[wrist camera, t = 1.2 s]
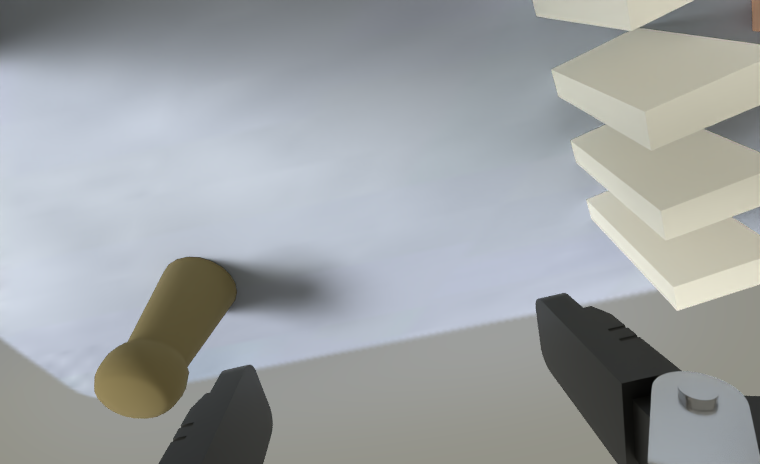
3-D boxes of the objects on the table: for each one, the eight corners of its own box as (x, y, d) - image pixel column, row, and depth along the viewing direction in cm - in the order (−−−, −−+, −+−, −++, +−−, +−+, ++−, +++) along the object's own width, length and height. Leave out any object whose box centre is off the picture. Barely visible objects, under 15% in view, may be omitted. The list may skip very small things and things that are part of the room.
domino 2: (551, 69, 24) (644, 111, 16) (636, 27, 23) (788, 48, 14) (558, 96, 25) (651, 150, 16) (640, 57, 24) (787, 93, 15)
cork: (178, 315, 35) (103, 435, 25) (150, 260, 32) (53, 373, 22) (245, 310, 34) (194, 430, 25) (224, 253, 31) (157, 366, 22)
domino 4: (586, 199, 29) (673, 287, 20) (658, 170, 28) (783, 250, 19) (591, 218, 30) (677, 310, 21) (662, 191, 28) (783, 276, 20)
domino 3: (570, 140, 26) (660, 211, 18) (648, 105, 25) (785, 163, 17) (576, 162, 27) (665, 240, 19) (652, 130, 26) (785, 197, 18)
